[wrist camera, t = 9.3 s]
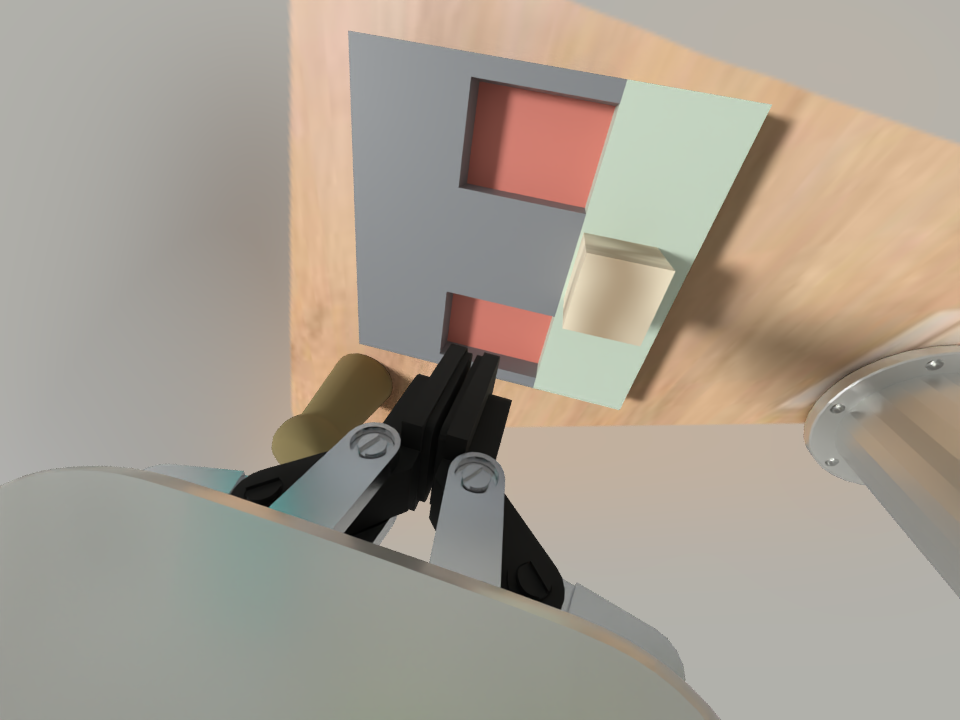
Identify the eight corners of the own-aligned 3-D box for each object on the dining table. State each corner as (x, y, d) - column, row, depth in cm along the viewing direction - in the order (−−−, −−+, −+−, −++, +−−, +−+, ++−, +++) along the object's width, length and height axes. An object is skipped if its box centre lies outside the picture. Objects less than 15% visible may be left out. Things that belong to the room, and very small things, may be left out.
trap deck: (750, 107, 20) (771, 104, 18) (616, 391, 31) (619, 409, 29) (369, 40, 22) (348, 30, 19) (372, 330, 33) (359, 343, 31)
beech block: (657, 247, 22) (675, 271, 18) (629, 313, 24) (640, 346, 21) (583, 232, 22) (586, 252, 19) (563, 299, 25) (562, 328, 21)
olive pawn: (396, 406, 37) (340, 495, 28) (343, 399, 38) (272, 483, 29) (387, 356, 34) (320, 438, 25) (329, 350, 35) (245, 427, 26)
